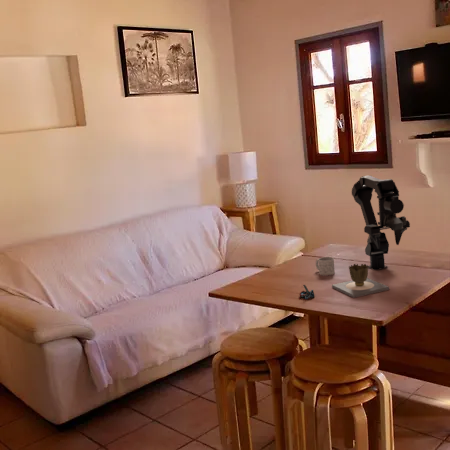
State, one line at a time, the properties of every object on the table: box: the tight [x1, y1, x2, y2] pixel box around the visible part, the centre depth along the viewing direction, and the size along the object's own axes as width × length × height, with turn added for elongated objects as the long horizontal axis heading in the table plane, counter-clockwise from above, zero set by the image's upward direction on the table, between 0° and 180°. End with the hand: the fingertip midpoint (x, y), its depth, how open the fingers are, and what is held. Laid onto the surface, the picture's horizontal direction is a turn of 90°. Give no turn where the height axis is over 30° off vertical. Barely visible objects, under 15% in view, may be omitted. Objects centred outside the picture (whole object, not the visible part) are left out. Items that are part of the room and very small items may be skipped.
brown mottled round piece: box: [348, 263, 369, 286], centre depth 231 cm, size 8×7×8 cm
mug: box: [315, 256, 336, 277], centre depth 259 cm, size 10×7×7 cm, turn 33°
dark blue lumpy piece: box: [298, 284, 316, 301], centre depth 229 cm, size 8×7×8 cm
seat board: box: [331, 277, 390, 299], centre depth 232 cm, size 16×16×1 cm
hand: (388, 246), depth 244 cm, fingers open, 9 cm apart
